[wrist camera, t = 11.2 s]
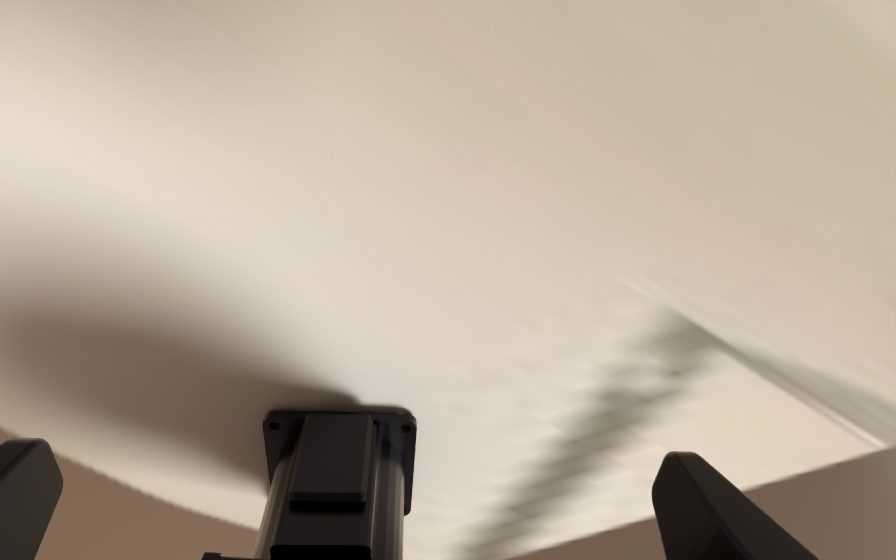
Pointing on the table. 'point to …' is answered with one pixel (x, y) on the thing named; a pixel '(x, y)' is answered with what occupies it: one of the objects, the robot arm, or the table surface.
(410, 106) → the table surface
